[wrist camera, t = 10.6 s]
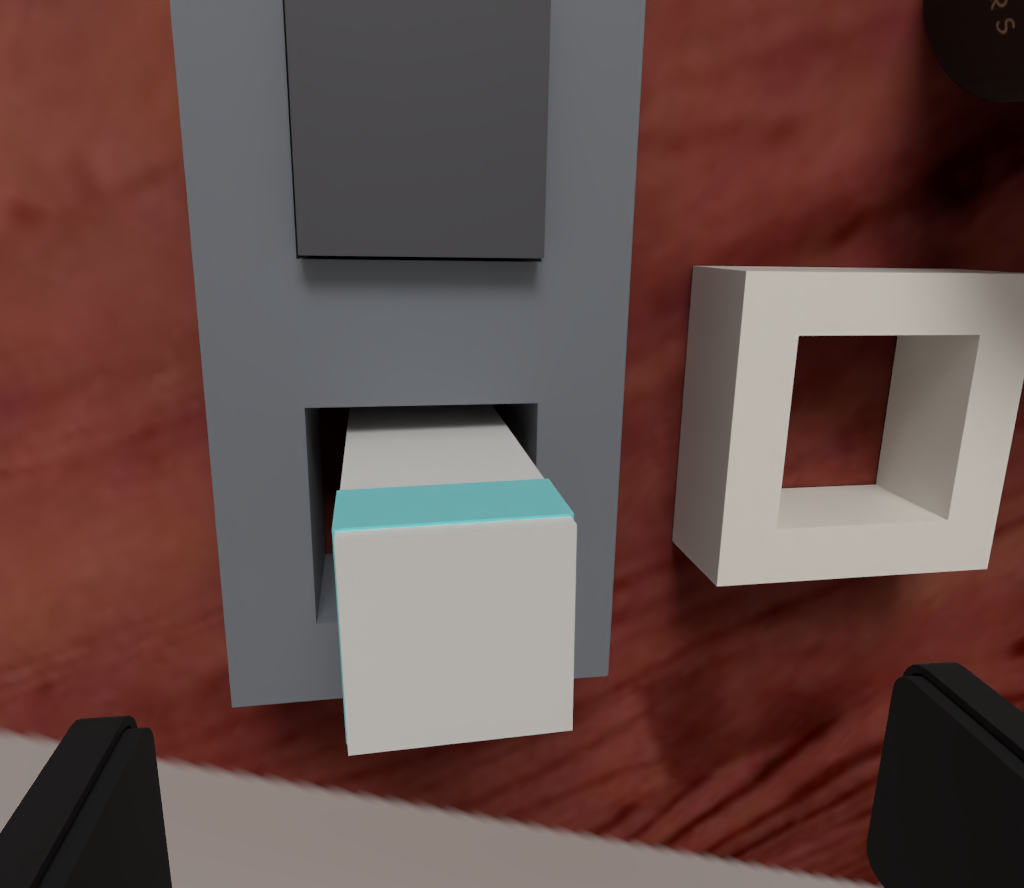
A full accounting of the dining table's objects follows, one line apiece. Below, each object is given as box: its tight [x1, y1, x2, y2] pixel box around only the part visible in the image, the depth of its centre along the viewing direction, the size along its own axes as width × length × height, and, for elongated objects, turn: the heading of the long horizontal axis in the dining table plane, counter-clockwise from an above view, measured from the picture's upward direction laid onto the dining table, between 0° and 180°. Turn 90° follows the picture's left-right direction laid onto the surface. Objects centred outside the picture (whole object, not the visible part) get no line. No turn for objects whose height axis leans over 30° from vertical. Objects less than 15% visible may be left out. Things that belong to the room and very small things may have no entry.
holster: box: [672, 266, 1024, 587], centre depth 24 cm, size 9×9×4 cm
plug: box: [332, 404, 577, 756], centre depth 18 cm, size 4×4×11 cm
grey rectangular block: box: [170, 0, 646, 707], centre depth 20 cm, size 10×19×5 cm, turn 0°
